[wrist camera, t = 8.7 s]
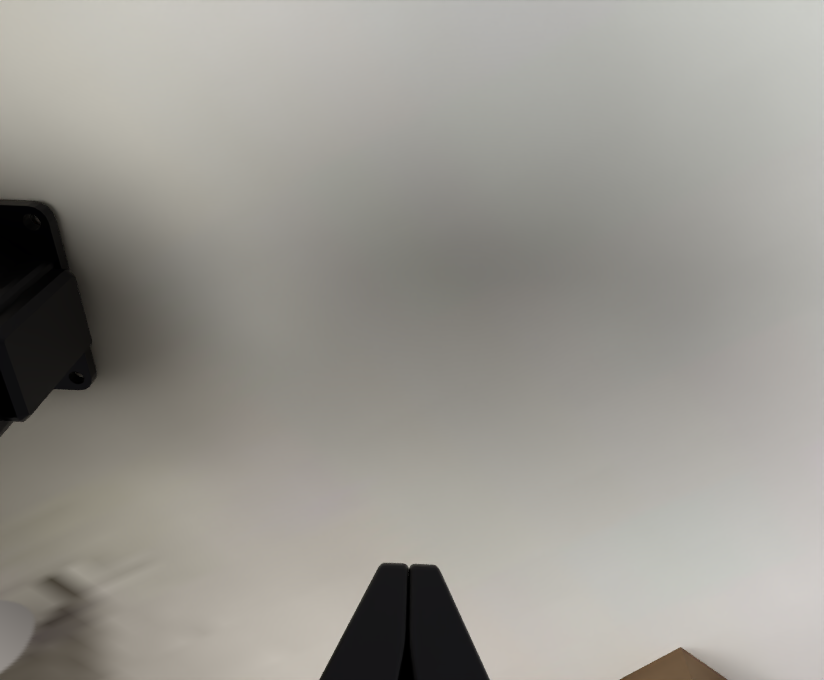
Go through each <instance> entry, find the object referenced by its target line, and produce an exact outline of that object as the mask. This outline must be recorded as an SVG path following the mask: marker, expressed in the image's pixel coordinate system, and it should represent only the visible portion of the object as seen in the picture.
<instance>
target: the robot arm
mask: <svg viewBox="0 0 824 680" xmlns="http://www.w3.org/2000/svg"><path fill="white" fill-rule="evenodd" d="M30 214H32V215H35V216H36V217H37V218H38V219H39V221H40V222H41V226H40V225H36V224H35V223H34V222H33V221H32V220H31V218H30ZM91 343H92V339H91V335H90V332H89V328H88V324H87V320H86V316H85V313H84V309H83V305H82V301H81V297H80V294H79V290H78V286H77V282H76V278H75V276H74V275H73V274H72V273H71V271H70V270H69V266H68V263H67V259H66V255H65V251H64V248H63V244H62V240H61V236H60V233H59V229H58V225H57V221H56V218H55V216H54V214H53V212H52V211H51V210H50V208H49V207H48V206H46V205H44V204H42V203H40V202H36V201H16V200H0V437H1V435H2V434H3V433H4V432H5V431H6V430H7V429H8V427H9V426H10V425H11V424H12V423H13V422H24V421H25V420H27V419H28V418H29V417H30V416H31V415H32V413H33V412H34V411H35V410H36V409H37V408H38V406H39V405H40V404H41V403H42V402H43V400H44V399H45V398H46V397H47V396H48V395H49V393H50V392H51V391H52V390H53V389H65V390H84V389H87V388H88V387H90V385H91V384H92V383H93V382H94V380H95V379H96V377H97V372H96V368H95V364H94V360H93V357H92V353H91V349H90V345H91ZM75 372H79V373H80V374H82V375H83V377H84V378H83V377H80V376H78V375H77V374H76V373H75ZM319 680H490V679H489V677H488V675H487V672H486V670H485V668H484V666H483V664H482V661H481V659H480V657H479V655H478V653H477V651H476V648H475V646H474V644H473V642H472V640H471V637H470V635H469V633H468V631H467V629H466V626H465V624H464V622H463V620H462V618H461V615H460V613H459V611H458V609H457V607H456V604H455V602H454V600H453V598H452V596H451V593H450V591H449V589H448V587H447V585H446V582H445V580H444V578H443V576H442V574H441V572H440V570H439V568H438V567H437V566H436V565H429V564H413V565H411V566H410V568H408V566H407V565H406V564H403V563H383V564H381V565H380V566H379V567H378V569H377V571H376V573H375V575H374V577H373V579H372V580H371V582H370V584H369V586H368V588H367V590H366V592H365V594H364V596H363V598H362V599H361V601H360V603H359V605H358V607H357V609H356V611H355V613H354V615H353V617H352V619H351V620H350V622H349V624H348V626H347V628H346V630H345V632H344V634H343V636H342V638H341V639H340V641H339V643H338V645H337V647H336V649H335V651H334V653H333V655H332V657H331V658H330V660H329V662H328V664H327V666H326V668H325V670H324V672H323V674H322V676H321V678H320V679H319Z"/></svg>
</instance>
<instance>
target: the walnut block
mask: <svg viewBox="0 0 824 680" xmlns="http://www.w3.org/2000/svg"><path fill="white" fill-rule="evenodd" d="M620 680H727V679H726V678H724V677H723V676H721V675H720V674H719V673H717V672H716V671H714V670H713V669H711V668H710V667H708V666H707V665H706V664H704V663H703V662H701V661H700V660H698V659H697V658H695V657H694V656H692V655H691V654H690V653H688V652H687V651H685V650H684V649H682V648H681V647H680V648H678V649H676V650H674V651H673V652H671V653H669V654H667V655H665V656H663V657H661V658H659V659H657V660H656V661H654V662H652V663H650V664H648V665H646V666H644V667H642V668H641V669H639V670H637V671H635V672H633V673H631V674H629V675H627V676H625V677H624V678H622V679H620Z"/></svg>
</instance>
